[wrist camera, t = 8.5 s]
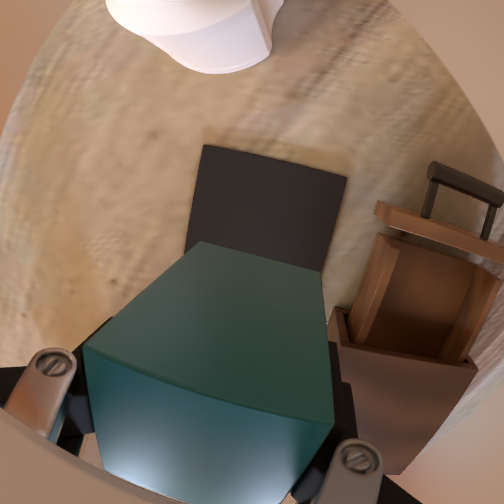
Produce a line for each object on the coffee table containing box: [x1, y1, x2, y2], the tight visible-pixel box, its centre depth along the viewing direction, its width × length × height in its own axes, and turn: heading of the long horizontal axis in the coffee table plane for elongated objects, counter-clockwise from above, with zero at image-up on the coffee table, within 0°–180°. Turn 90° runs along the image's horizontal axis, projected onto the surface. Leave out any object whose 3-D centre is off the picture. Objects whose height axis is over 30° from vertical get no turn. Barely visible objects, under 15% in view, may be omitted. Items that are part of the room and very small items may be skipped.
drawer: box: [346, 161, 504, 363], centre depth 23 cm, size 19×12×5 cm, turn 168°
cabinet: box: [327, 307, 479, 475], centre depth 27 cm, size 16×14×7 cm
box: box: [83, 241, 335, 504], centre depth 10 cm, size 5×5×8 cm
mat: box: [184, 145, 346, 272], centre depth 27 cm, size 12×12×1 cm
